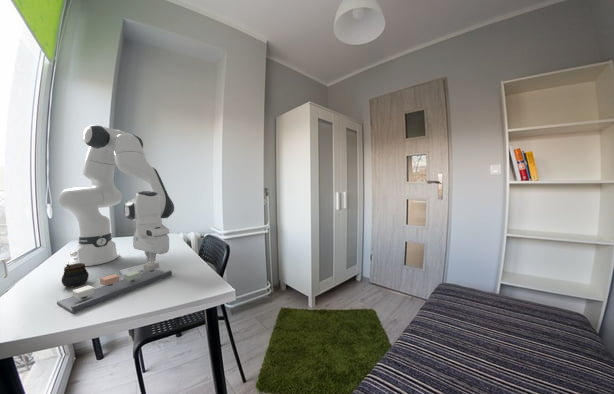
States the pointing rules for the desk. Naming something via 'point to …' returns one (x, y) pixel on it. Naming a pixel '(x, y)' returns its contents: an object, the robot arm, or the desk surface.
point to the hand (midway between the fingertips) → (151, 261)
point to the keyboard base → (112, 291)
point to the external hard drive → (133, 269)
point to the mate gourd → (74, 275)
